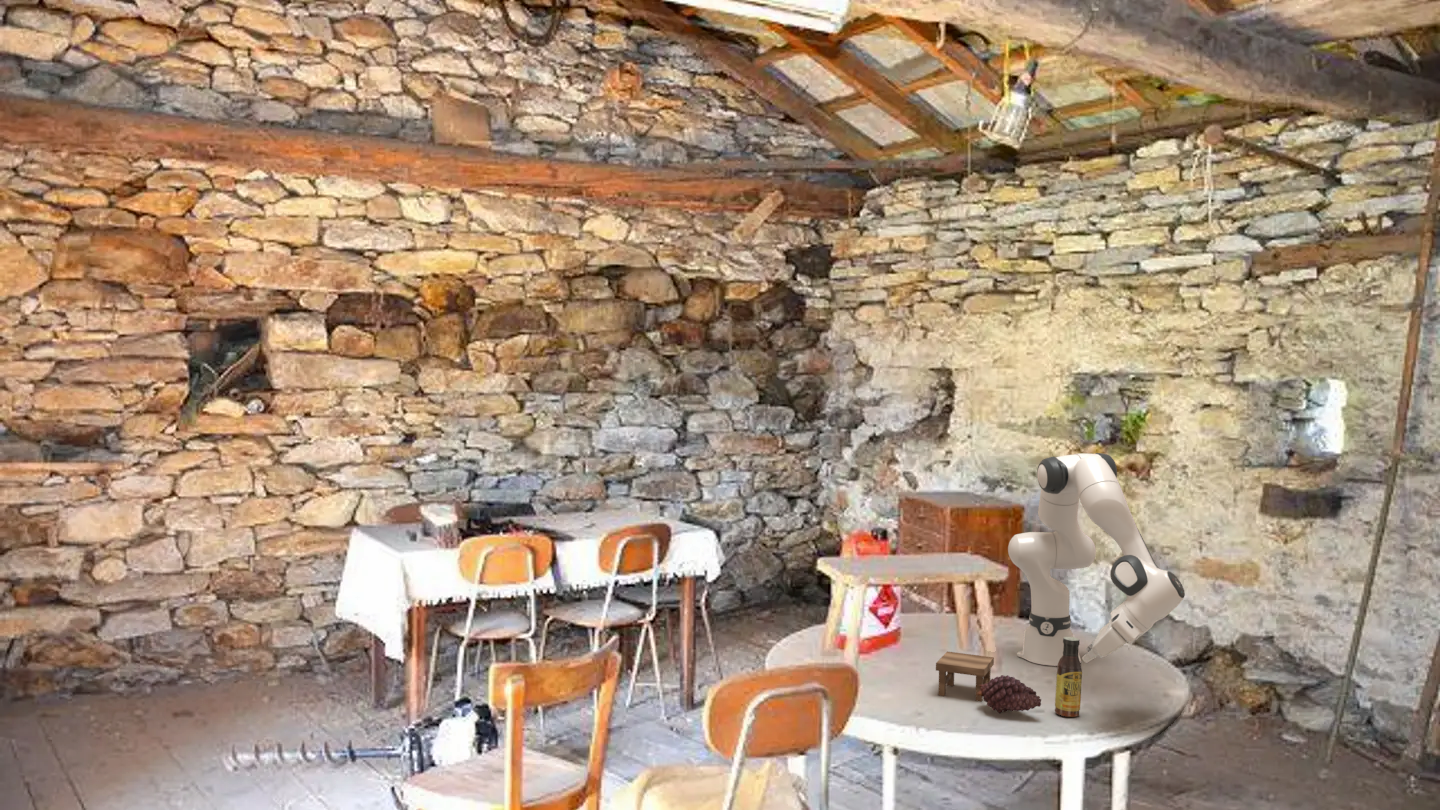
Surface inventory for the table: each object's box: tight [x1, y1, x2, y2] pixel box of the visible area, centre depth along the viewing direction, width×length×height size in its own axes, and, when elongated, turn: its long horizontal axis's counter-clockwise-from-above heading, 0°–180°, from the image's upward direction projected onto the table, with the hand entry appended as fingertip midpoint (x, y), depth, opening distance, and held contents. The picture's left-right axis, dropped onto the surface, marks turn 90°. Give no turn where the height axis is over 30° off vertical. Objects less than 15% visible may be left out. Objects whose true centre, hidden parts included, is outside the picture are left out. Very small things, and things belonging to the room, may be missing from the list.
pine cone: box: [977, 675, 1042, 714], centre depth 284 cm, size 18×10×10 cm, turn 49°
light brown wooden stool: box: [935, 651, 995, 703], centre depth 301 cm, size 13×13×9 cm
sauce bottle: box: [1054, 636, 1083, 718], centre depth 284 cm, size 7×6×20 cm
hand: (1086, 655), depth 282 cm, fingers open, 8 cm apart
